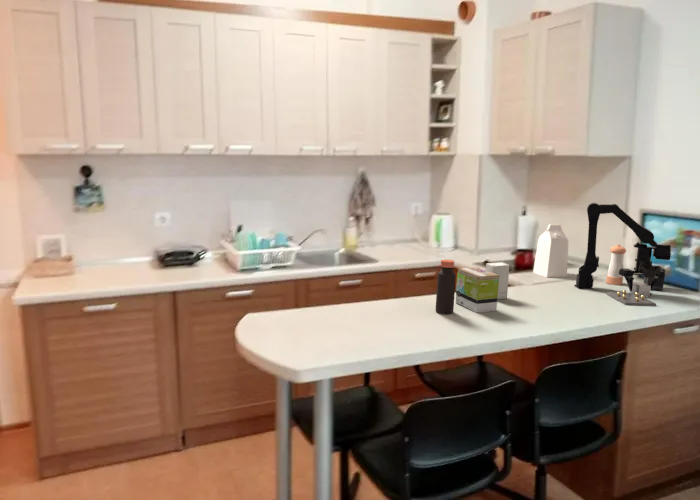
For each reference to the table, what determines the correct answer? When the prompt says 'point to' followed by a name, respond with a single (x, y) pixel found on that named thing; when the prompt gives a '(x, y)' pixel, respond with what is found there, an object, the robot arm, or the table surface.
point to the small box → (658, 284)
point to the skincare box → (500, 277)
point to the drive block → (641, 288)
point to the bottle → (445, 288)
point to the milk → (552, 253)
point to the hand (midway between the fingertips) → (639, 291)
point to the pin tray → (631, 298)
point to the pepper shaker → (615, 265)
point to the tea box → (477, 289)
